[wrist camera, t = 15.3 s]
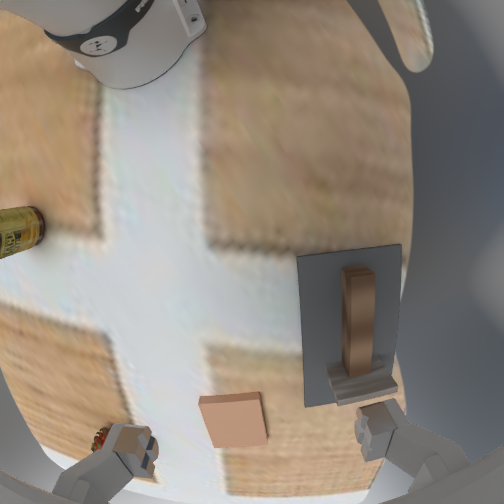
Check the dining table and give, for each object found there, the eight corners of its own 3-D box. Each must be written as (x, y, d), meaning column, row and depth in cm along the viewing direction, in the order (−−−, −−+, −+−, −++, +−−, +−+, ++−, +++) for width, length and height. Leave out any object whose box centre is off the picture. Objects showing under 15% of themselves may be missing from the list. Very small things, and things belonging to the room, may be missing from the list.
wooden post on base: (321, 270, 35) (339, 293, 28) (380, 261, 35) (410, 281, 27) (324, 370, 39) (337, 406, 31) (376, 359, 39) (397, 391, 31)
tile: (198, 403, 39) (214, 448, 41) (259, 399, 39) (267, 444, 41) (200, 394, 41) (215, 439, 43) (258, 389, 41) (267, 435, 43)
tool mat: (296, 256, 36) (297, 257, 35) (399, 243, 35) (401, 244, 35) (304, 405, 41) (305, 407, 40) (387, 388, 41) (388, 390, 40)
